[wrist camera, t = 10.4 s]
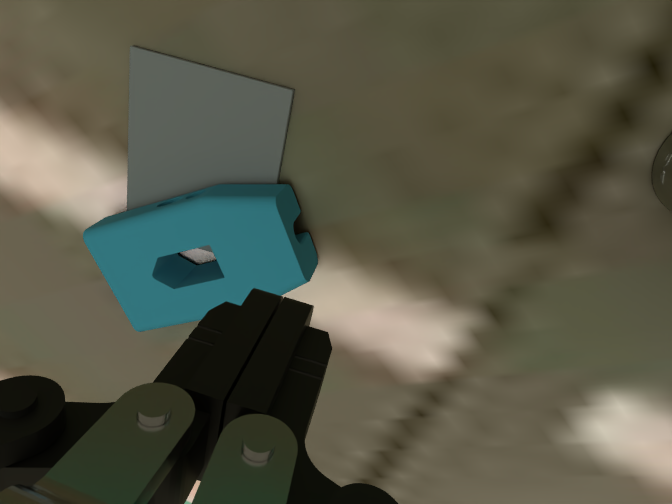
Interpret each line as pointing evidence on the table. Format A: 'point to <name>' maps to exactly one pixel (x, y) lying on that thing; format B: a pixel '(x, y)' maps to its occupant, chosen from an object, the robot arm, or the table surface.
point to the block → (197, 231)
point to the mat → (200, 128)
